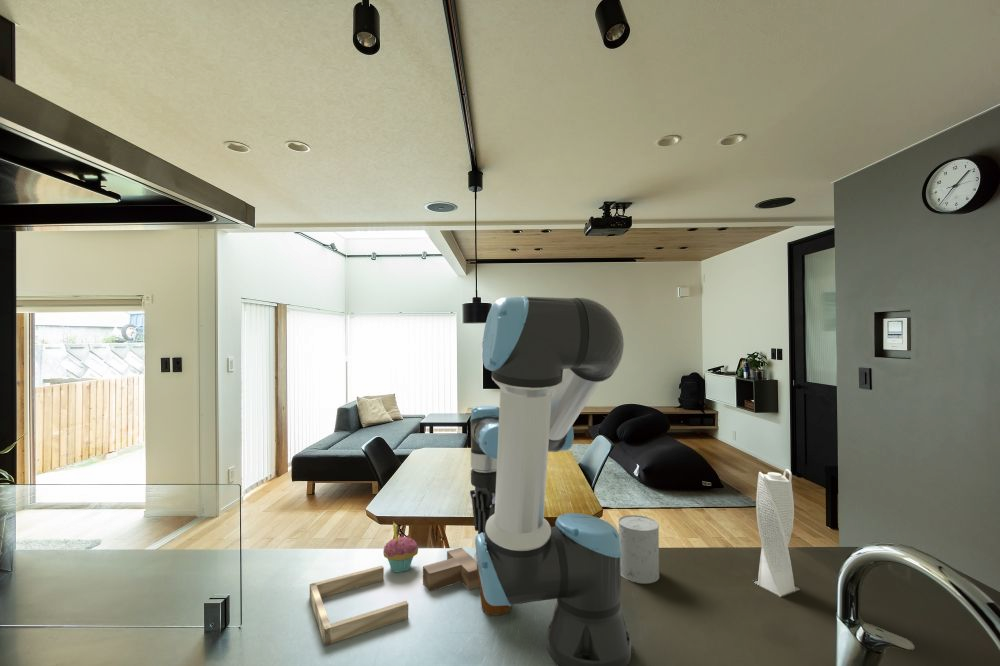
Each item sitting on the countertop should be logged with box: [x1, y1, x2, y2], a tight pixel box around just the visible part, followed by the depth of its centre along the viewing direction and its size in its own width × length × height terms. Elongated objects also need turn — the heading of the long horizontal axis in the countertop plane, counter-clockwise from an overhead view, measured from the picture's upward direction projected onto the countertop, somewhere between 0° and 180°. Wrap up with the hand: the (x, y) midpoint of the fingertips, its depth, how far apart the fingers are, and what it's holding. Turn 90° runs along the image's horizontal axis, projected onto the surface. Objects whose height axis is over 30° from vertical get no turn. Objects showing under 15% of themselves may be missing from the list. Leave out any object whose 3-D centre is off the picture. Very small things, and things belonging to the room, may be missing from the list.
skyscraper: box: [753, 468, 801, 598], centre depth 104 cm, size 8×8×28 cm
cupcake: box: [383, 520, 419, 573], centre depth 113 cm, size 9×8×12 cm
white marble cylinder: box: [618, 514, 660, 585], centre depth 110 cm, size 10×10×12 cm
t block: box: [422, 547, 479, 592], centre depth 107 cm, size 12×12×4 cm
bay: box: [309, 565, 409, 647], centre depth 96 cm, size 18×16×3 cm
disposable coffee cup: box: [473, 552, 512, 616], centre depth 96 cm, size 10×10×12 cm
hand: (485, 563), depth 112 cm, fingers closed
